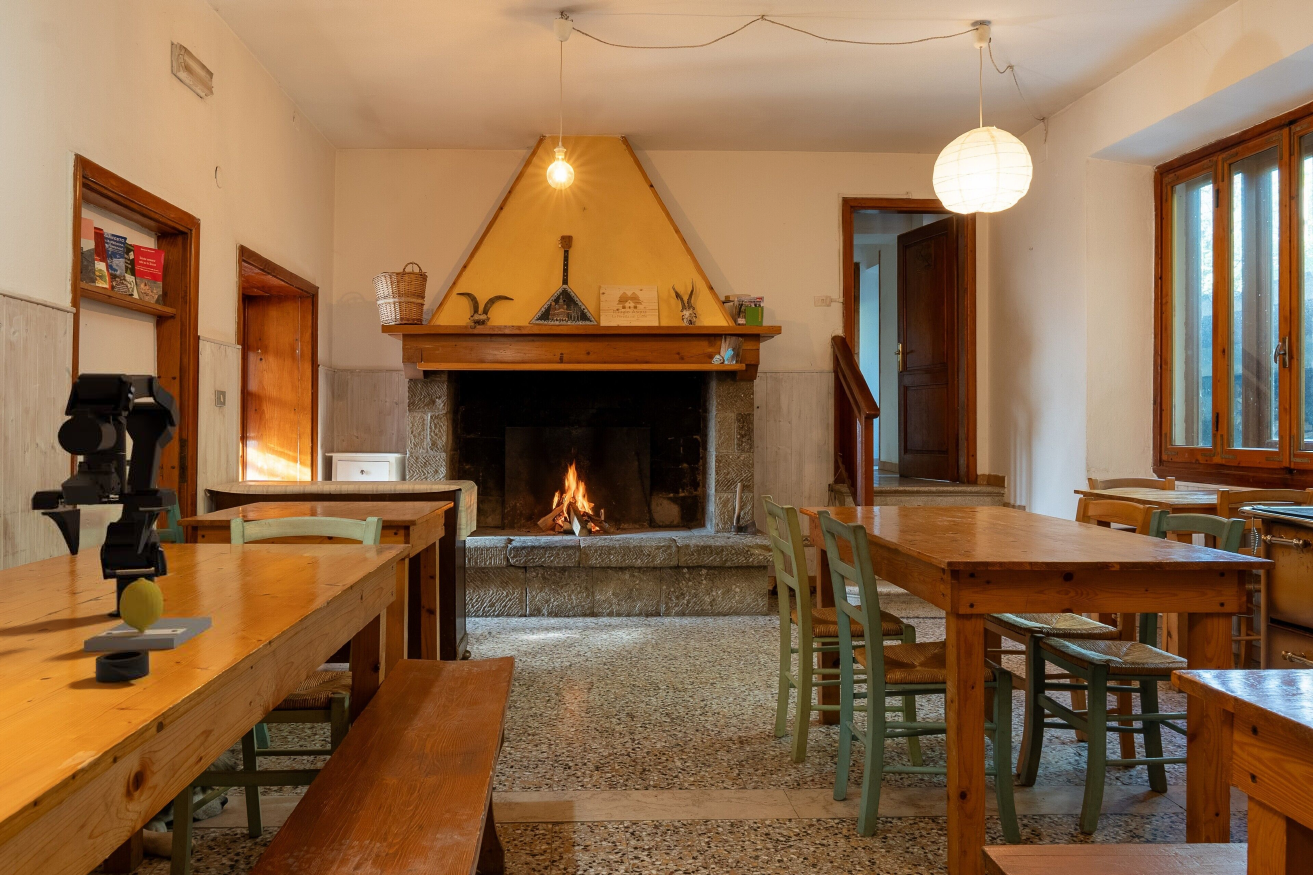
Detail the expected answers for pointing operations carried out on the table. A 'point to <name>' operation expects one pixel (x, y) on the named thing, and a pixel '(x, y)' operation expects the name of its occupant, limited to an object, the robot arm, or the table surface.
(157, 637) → the grey flat block
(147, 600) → the lemon
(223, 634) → the table surface
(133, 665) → the black piece
